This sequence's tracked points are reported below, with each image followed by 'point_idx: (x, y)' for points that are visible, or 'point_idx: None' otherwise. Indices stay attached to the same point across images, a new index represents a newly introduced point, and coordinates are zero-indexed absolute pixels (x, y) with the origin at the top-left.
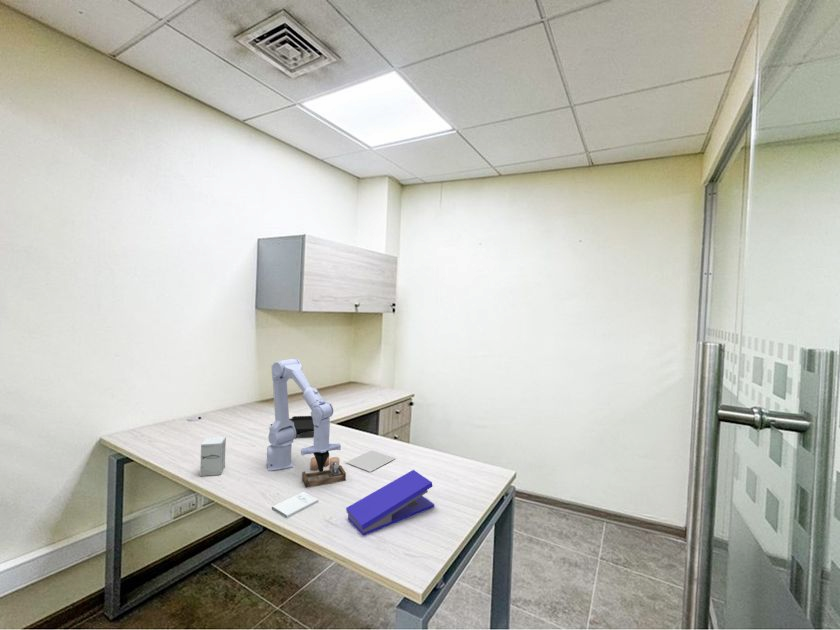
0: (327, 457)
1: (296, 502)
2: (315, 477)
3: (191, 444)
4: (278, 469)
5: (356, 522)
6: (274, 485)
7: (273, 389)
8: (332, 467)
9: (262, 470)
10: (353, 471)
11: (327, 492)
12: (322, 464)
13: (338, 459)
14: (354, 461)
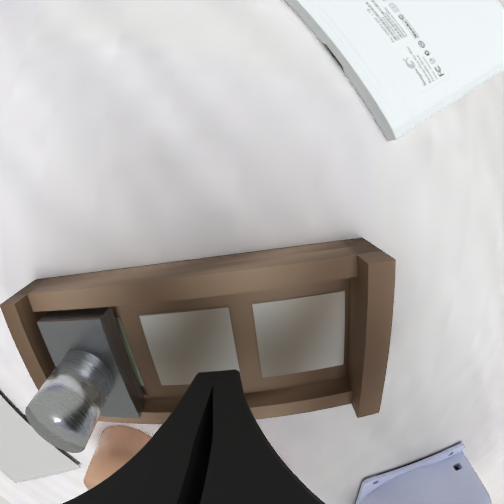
0: (79, 499)
1: (431, 7)
2: (267, 361)
3: (501, 499)
4: (428, 457)
5: None
6: (498, 319)
7: None
8: (95, 401)
9: (472, 444)
10: (18, 377)
11: (176, 103)
12: (191, 427)
13: (89, 482)
14: (42, 455)
